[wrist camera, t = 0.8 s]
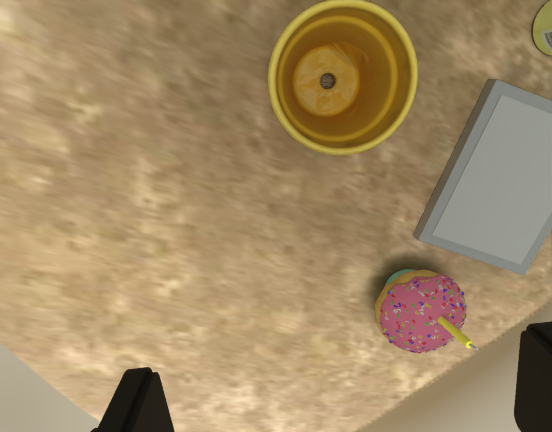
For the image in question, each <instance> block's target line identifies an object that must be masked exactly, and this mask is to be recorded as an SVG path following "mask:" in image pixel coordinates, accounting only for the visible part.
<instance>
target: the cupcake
mask: <svg viewBox="0 0 552 432" xmlns="http://www.w3.org/2000/svg"><path fill="white" fill-rule="evenodd" d="M462 293H463V292H462V291H461V290H460V288H459V287H458V285H457V284H456V282H455V281H454V280H453V279H451V278H450V277H448V276H446V275H443V274H439V273H436V272H433V271H430V270H414V269H403V270H400V271H398V272H396V273H394V274H393V275H392V276H391V277H390V278H389V279H388V280H387V282H386V284H385V287H384V289H383V290H382V292H381V294H380V296H379V297H378V299H377V301H376V303H375V318H376V323H377V325H378V327H379V329H380V331H381V332H382V334H383V335H384V336H385V337H386V338H387V339H388V340H389V342H390V341H391V342H390V343H393V344H394V345H395V346H397V347H399V348H401V349H403V350H407V351H410V352H414V353H421V352H425V351H426V352H425V353H427V351H435V350H436V348H439V347H441V346H445V345H446V344H447V343H448V342H450V341H453V340H454V339H453V338H456V339H458V340H459V341H460V342H461V343H462V344H463V345H464V346H465V347H467V348H471V347H472V348H473V349H475V350H478V348H476V347H475V346H473V342H472V341H471V340H470V339H468V338H467V337H466V336H465V335H464V334H463V333H461V332H460V331H461V328H462V327H463V326H462V325H463V324H464V320H465V318H466V308H467V304H466V303H465V300H464V297H463V294H464V293H463V294H462ZM461 326H462V327H461Z"/></svg>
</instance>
